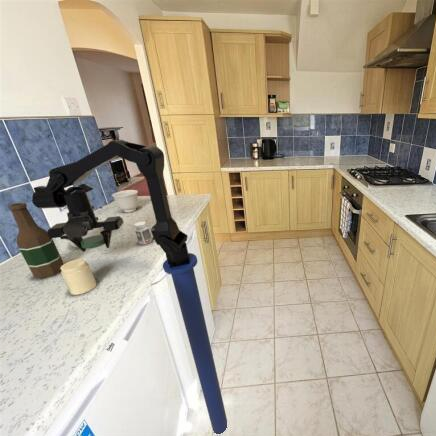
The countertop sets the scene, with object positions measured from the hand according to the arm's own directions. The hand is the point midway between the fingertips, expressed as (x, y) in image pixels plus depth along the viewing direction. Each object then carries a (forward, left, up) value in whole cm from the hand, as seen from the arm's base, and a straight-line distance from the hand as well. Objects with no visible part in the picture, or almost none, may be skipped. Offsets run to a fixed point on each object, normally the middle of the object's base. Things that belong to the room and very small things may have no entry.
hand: (96, 249), depth 82 cm
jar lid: (0, 0, +3) cm, 3 cm away
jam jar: (+2, +13, -6) cm, 14 cm away
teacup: (+1, -59, -6) cm, 59 cm away
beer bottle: (+15, -2, -6) cm, 16 cm away
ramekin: (+10, -23, -6) cm, 26 cm away
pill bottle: (-12, -12, -6) cm, 18 cm away
